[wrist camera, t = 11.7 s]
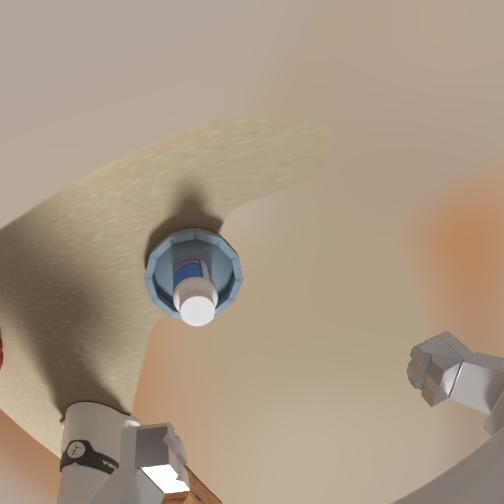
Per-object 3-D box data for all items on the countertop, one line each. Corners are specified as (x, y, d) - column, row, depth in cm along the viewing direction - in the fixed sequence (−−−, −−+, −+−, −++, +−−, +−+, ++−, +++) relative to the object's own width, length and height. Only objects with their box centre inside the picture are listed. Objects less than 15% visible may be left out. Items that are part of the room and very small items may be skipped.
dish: (245, 301, 46) (248, 308, 44) (161, 320, 45) (161, 328, 43) (230, 218, 42) (232, 222, 40) (136, 240, 40) (134, 245, 38)
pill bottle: (165, 281, 42) (163, 318, 33) (185, 249, 41) (187, 280, 32) (199, 298, 44) (205, 338, 35) (219, 268, 43) (230, 303, 34)
